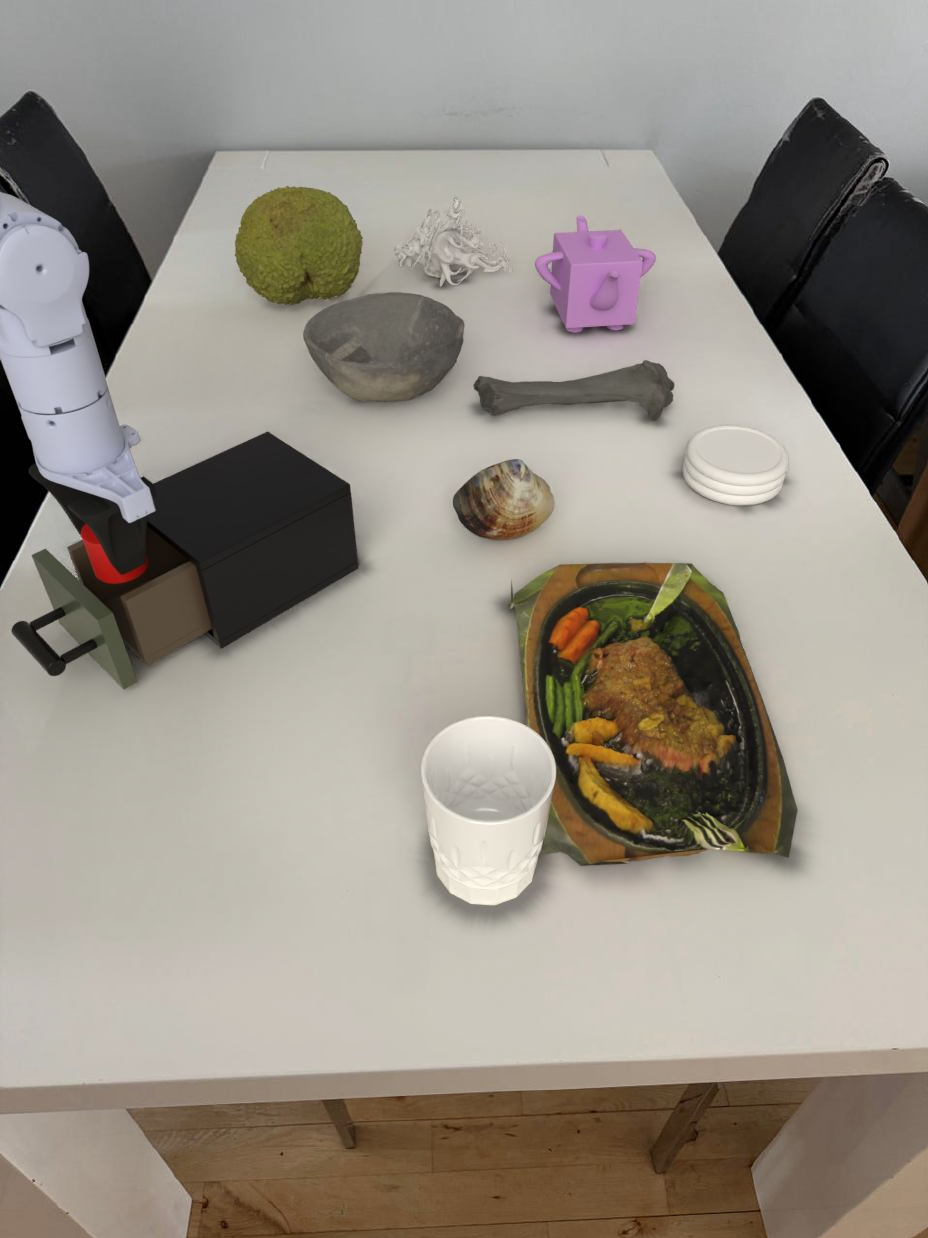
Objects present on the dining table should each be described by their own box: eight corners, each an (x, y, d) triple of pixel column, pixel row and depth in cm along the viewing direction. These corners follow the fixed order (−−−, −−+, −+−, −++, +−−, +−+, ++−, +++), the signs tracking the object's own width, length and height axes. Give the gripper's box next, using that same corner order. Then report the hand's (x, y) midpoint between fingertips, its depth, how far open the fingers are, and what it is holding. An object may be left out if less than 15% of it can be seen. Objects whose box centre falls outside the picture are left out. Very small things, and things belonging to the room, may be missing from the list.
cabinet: (221, 649, 74) (199, 563, 68) (146, 582, 80) (120, 497, 74) (358, 568, 82) (350, 484, 75) (281, 512, 88) (267, 430, 81)
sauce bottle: (93, 588, 68) (72, 529, 65) (95, 555, 71) (74, 497, 67) (148, 579, 69) (130, 521, 65) (148, 547, 72) (130, 489, 68)
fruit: (289, 335, 115) (221, 220, 108) (267, 331, 127) (204, 227, 120) (395, 269, 117) (335, 152, 110) (363, 271, 130) (307, 166, 123)
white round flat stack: (778, 516, 87) (787, 486, 85) (674, 496, 90) (680, 466, 87) (785, 461, 94) (794, 431, 92) (689, 444, 97) (694, 415, 94)
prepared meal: (830, 827, 57) (547, 837, 57) (815, 859, 60) (543, 869, 59) (714, 558, 79) (506, 562, 78) (706, 589, 81) (504, 594, 80)
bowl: (365, 338, 114) (360, 275, 109) (490, 371, 108) (492, 306, 103) (279, 403, 103) (268, 336, 97) (413, 443, 97) (410, 374, 91)
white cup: (490, 939, 56) (494, 849, 49) (400, 863, 60) (393, 769, 53) (569, 857, 60) (583, 763, 53) (481, 790, 64) (483, 695, 57)
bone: (665, 397, 104) (674, 348, 100) (676, 427, 99) (685, 376, 95) (472, 398, 104) (473, 348, 100) (474, 428, 99) (474, 377, 95)
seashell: (543, 510, 88) (549, 439, 83) (560, 547, 84) (567, 474, 78) (447, 523, 87) (446, 451, 81) (459, 560, 82) (459, 487, 77)
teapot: (668, 318, 119) (681, 233, 111) (608, 354, 111) (618, 266, 104) (573, 286, 126) (580, 204, 119) (512, 318, 119) (515, 233, 111)
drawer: (75, 718, 68) (44, 648, 63) (12, 647, 73) (-21, 578, 68) (268, 606, 77) (255, 538, 72) (200, 551, 82) (183, 483, 77)
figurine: (389, 240, 130) (430, 167, 124) (477, 292, 136) (521, 225, 130) (390, 277, 121) (435, 199, 115) (485, 331, 127) (532, 260, 121)
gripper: (175, 411, 58) (214, 573, 67) (66, 336, 66) (115, 492, 75) (72, 454, 54) (129, 619, 64) (-31, 370, 62) (34, 529, 71)
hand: (116, 553), depth 69 cm, fingers closed on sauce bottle, 4 cm apart
